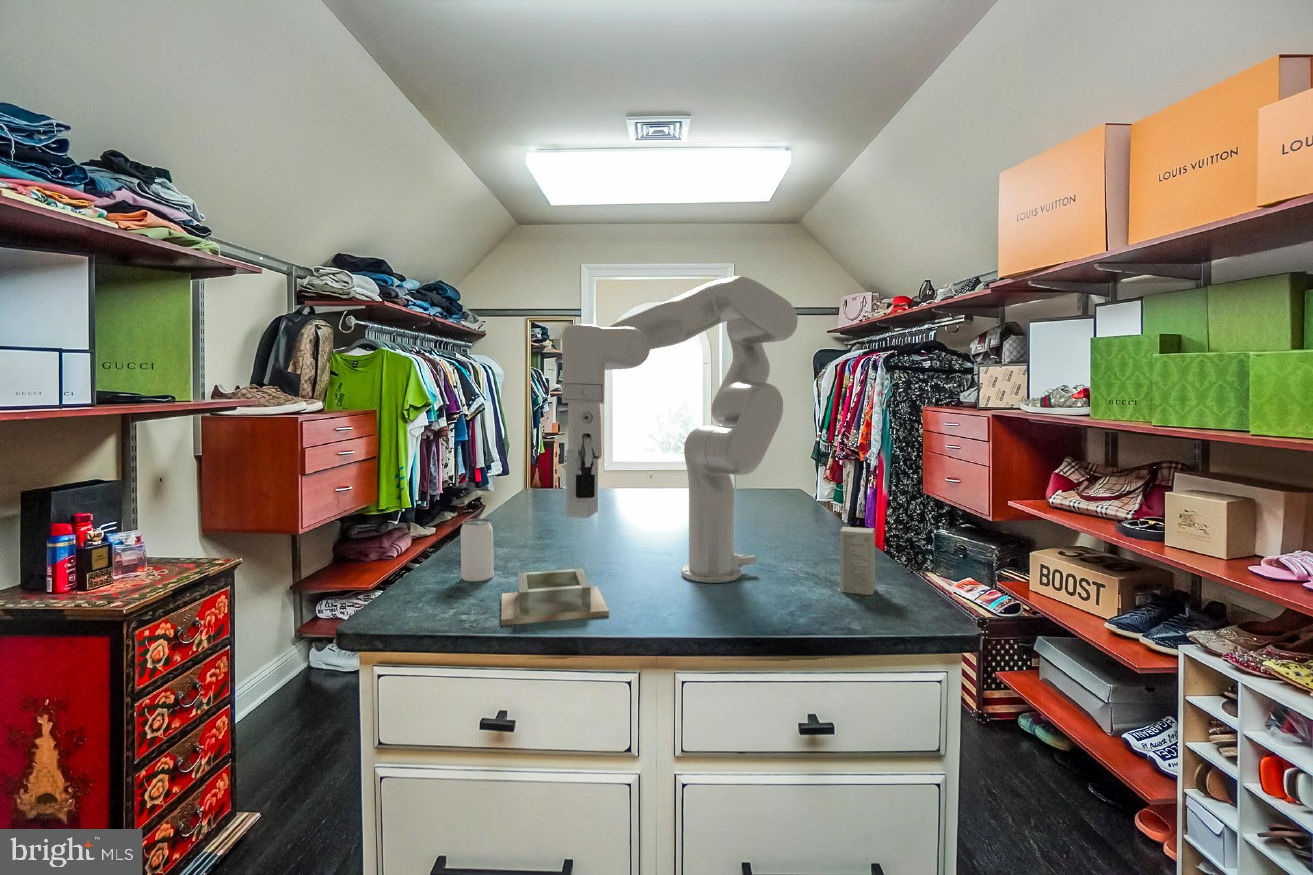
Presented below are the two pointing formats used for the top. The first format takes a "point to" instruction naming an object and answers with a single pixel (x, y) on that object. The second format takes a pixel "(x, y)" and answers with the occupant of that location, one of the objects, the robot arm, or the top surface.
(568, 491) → the skincare box
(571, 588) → the bottle stand
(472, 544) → the can
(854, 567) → the skincare box
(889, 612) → the top surface
